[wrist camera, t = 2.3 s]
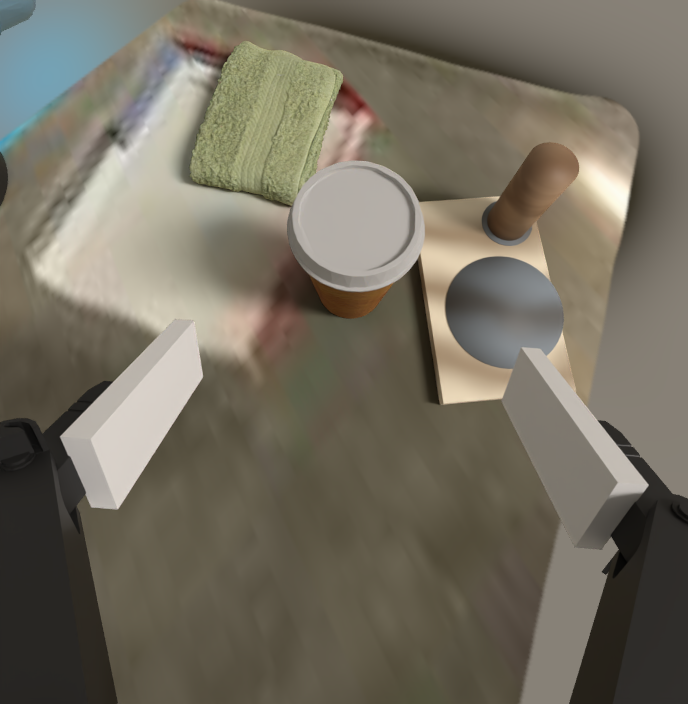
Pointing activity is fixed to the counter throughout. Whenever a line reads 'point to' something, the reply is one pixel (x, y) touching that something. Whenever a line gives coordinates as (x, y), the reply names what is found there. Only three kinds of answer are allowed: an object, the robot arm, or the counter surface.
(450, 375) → the board
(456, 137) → the counter surface
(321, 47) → the counter surface
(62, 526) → the robot arm
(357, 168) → the disposable coffee cup
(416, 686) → the counter surface
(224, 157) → the washcloth
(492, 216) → the walnut peg
